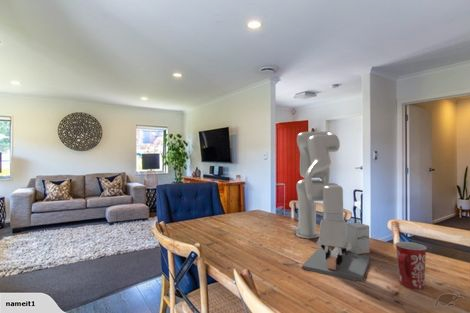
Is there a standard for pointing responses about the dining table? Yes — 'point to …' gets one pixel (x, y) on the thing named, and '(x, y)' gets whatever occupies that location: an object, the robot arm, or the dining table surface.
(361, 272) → the mat
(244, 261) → the dining table surface
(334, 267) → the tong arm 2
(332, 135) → the robot arm
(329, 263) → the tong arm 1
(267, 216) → the dining table surface
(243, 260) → the dining table surface
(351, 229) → the supplement box
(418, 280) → the mug
